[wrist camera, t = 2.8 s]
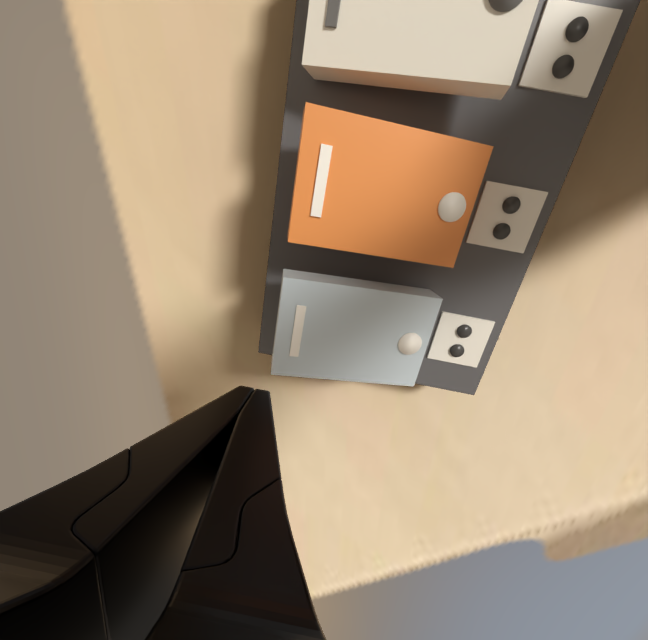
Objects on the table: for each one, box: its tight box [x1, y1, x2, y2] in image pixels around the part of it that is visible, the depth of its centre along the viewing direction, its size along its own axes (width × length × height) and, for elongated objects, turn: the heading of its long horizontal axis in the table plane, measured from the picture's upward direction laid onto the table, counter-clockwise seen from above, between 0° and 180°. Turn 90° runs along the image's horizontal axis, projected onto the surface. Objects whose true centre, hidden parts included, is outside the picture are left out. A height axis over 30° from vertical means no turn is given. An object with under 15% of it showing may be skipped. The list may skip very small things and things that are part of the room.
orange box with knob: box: [287, 102, 494, 268], centre depth 13 cm, size 7×5×2 cm, turn 80°
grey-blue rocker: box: [271, 269, 443, 386], centre depth 15 cm, size 7×5×2 cm, turn 80°
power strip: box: [258, 0, 640, 395], centre depth 15 cm, size 12×18×4 cm, turn 170°
